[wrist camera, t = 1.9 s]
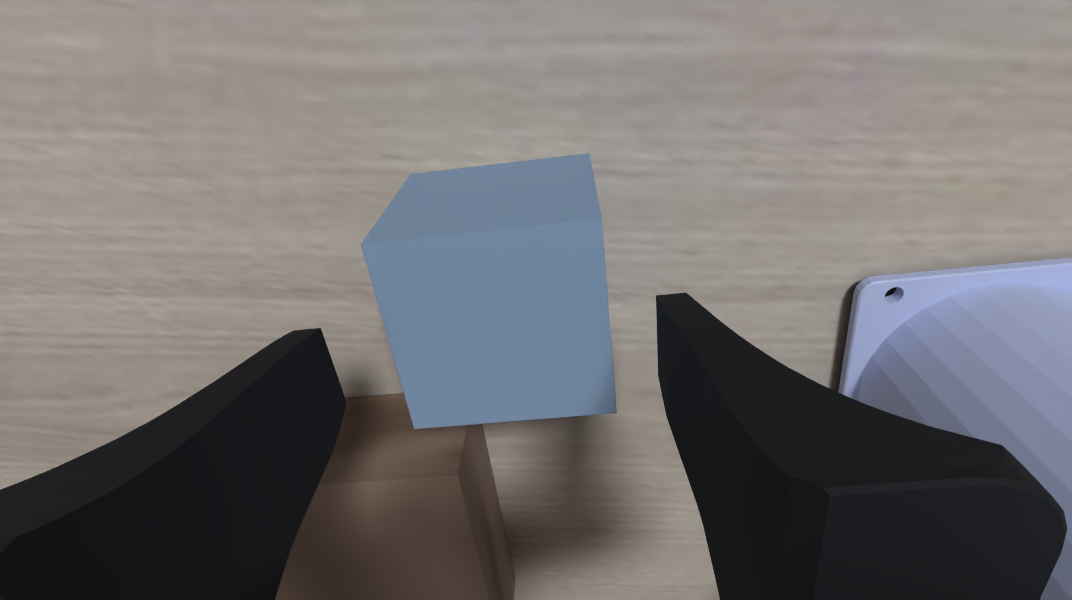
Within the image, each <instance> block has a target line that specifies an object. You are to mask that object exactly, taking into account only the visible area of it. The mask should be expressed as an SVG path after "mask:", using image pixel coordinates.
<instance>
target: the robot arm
mask: <svg viewBox="0 0 1072 600" xmlns="http://www.w3.org/2000/svg"><path fill="white" fill-rule="evenodd" d="M894 287H897V289H896V291H895V292H894V293H893V294H892V295H890V296H885V294H886V292H887V291H888V290H890V289H891V288H894ZM656 308H657V344H658V376H659V381H660V387H661V392H662V397H663V401H664V406H665V411H666V416H667V419H668V422H669V425H670V428H671V430H672V433H673V436H674V439H675V442H676V445H677V448H678V451H679V454H680V457H681V459H682V462H683V465H684V468H685V471H686V474H687V477H688V480H689V482H690V485H691V488H692V491H693V494H694V497H695V500H696V503H697V506H698V509H699V512H700V516H701V519H702V523H703V526H704V531H705V535H706V539H707V544H708V548H709V552H710V556H711V561H712V565H713V569H714V574H715V578H716V583H717V587H718V592H719V596H720V600H1072V258H1062V259H1051V260H1041V261H1030V262H1019V263H1009V264H998V265H987V266H977V267H966V268H955V269H945V270H934V271H924V272H913V273H902V274H892V275H881V276H872V277H868V278H866V279H864V280H862V281H861V282H860V283H859V284H858V285H857V286H856V288H855V290H854V293H853V300H852V306H851V313H850V319H849V326H848V332H847V339H846V345H845V352H844V358H843V365H842V371H841V378H840V384H839V391H838V392H836V391H833V390H831V389H829V388H827V387H825V386H823V385H821V384H819V383H817V382H815V381H813V380H811V379H809V378H807V377H805V376H803V375H801V374H799V373H798V372H796V371H794V370H792V369H790V368H788V367H786V366H785V365H783V364H781V363H780V362H778V361H776V360H775V359H773V358H772V357H770V356H768V355H767V354H765V353H764V352H762V351H761V350H759V349H758V348H756V347H755V346H753V345H752V344H750V343H749V342H747V341H746V340H745V339H743V338H742V337H740V336H739V335H738V334H736V333H735V332H734V331H732V330H731V329H730V328H728V327H727V326H726V325H725V324H723V323H722V322H721V321H719V320H718V319H717V318H716V317H715V316H713V315H712V314H711V313H710V312H709V311H707V310H706V309H705V308H704V307H703V306H701V305H700V304H699V303H698V302H697V301H695V300H694V299H693V298H692V297H691V296H689V295H688V294H687V293H678V294H668V295H658V296H656ZM346 404H347V402H346V399H345V396H344V394H343V391H342V388H341V385H340V382H339V379H338V376H337V374H336V371H335V368H334V365H333V362H332V359H331V356H330V354H329V351H328V348H327V345H326V342H325V339H324V336H323V334H322V331H321V328H316V329H306V330H296V331H292V332H290V333H288V334H286V335H284V336H283V337H281V338H279V339H278V340H276V341H274V342H273V343H271V344H270V345H268V346H267V347H265V348H264V349H262V350H260V351H259V352H257V353H256V354H255V355H253V356H252V357H250V358H249V359H247V360H246V361H244V362H243V363H241V364H240V365H238V366H237V367H235V368H234V369H232V370H231V371H229V372H228V373H226V374H225V375H223V376H222V377H221V378H219V379H218V380H216V381H215V382H213V383H211V384H210V385H208V386H207V387H205V388H204V389H202V390H200V391H199V392H197V393H196V394H194V395H192V396H191V397H189V398H188V399H186V400H185V401H183V402H181V403H180V404H178V405H177V406H175V407H173V408H172V409H170V410H168V411H167V412H165V413H163V414H162V415H160V416H158V417H156V418H155V419H153V420H151V421H149V422H148V423H146V424H144V425H142V426H140V427H138V428H136V429H135V430H133V431H131V432H129V433H127V434H125V435H123V436H121V437H120V438H118V439H116V440H114V441H112V442H110V443H108V444H105V445H103V446H101V447H99V448H97V449H95V450H92V451H90V452H88V453H86V454H84V455H82V456H80V457H77V458H75V459H73V460H71V461H69V462H67V463H64V464H62V465H60V466H58V467H56V468H53V469H51V470H49V471H46V472H44V473H41V474H39V475H37V476H34V477H32V478H29V479H27V480H24V481H22V482H19V483H17V484H14V485H12V486H9V487H6V488H4V489H1V490H0V600H275V598H276V595H277V591H278V588H279V585H280V582H281V579H282V575H283V572H284V569H285V566H286V563H287V559H288V556H289V553H290V550H291V548H292V545H293V543H294V540H295V537H296V535H297V532H298V530H299V528H300V525H301V523H302V521H303V519H304V516H305V514H306V512H307V509H308V507H309V505H310V503H311V500H312V498H313V496H314V494H315V491H316V489H317V487H318V484H319V482H320V480H321V478H322V475H323V473H324V471H325V468H326V466H327V464H328V461H329V459H330V457H331V454H332V452H333V450H334V447H335V445H336V442H337V438H338V435H339V431H340V428H341V424H342V420H343V416H344V412H345V408H346Z"/></svg>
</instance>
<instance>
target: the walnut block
mask: <svg viewBox="0 0 1072 600" xmlns="http://www.w3.org/2000/svg"><path fill="white" fill-rule="evenodd" d="M345 399H346V402H347V404H346V408H345V412H344V416H343V420H342V424H341V428H340V431H339V435H338V438H337V442H336V445H335V447H334V450H333V452H332V454H331V457H330V459H329V461H328V464H327V466H326V468H325V471H324V473H323V475H322V478H321V480H320V482H319V484H318V487H317V489H316V491H315V494H314V496H313V498H312V500H311V503H310V505H309V507H308V509H307V512H306V514H305V516H304V519H303V521H302V523H301V525H300V528H299V530H298V532H297V535H296V537H295V540H294V543H293V545H292V548H291V550H290V553H289V556H288V559H287V563H286V566H285V569H284V572H283V575H282V579H281V582H280V585H279V588H278V591H277V595H276V598H275V600H514V585H515V576H514V571H513V566H512V562H511V557H510V552H509V548H508V543H507V538H506V534H505V529H504V524H503V520H502V515H501V510H500V506H499V501H498V496H497V492H496V487H495V482H494V478H493V473H492V468H491V464H490V459H489V454H488V450H487V445H486V440H485V436H484V431H483V426H482V424H472V425H459V426H446V427H434V428H421V429H414V426H413V423H412V419H411V416H410V413H409V409H408V406H407V402H406V399H405V395H404V393H402V394H390V395H378V396H366V397H354V398H345Z"/></svg>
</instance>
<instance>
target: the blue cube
mask: <svg viewBox="0 0 1072 600" xmlns="http://www.w3.org/2000/svg"><path fill="white" fill-rule="evenodd" d="M361 247H362V250H363V253H364V257H365V260H366V264H367V267H368V271H369V274H370V278H371V281H372V285H373V288H374V292H375V295H376V298H377V302H378V305H379V309H380V312H381V316H382V319H383V323H384V326H385V330H386V333H387V336H388V340H389V343H390V347H391V350H392V354H393V357H394V361H395V364H396V368H397V371H398V374H399V378H400V381H401V385H402V388H403V392H404V395H405V399H406V402H407V406H408V409H409V413H410V416H411V419H412V423H413V426H414V429H421V428H434V427H446V426H459V425H472V424H484V423H497V422H509V421H522V420H534V419H547V418H559V417H572V416H585V415H597V414H610V413H617V412H616V399H615V386H614V373H613V360H612V346H611V333H610V320H609V307H608V294H607V281H606V268H605V255H604V242H603V229H602V217H601V212H600V207H599V202H598V197H597V191H596V186H595V181H594V176H593V171H592V165H591V160H590V155H589V153H588V154H579V155H571V156H562V157H553V158H545V159H536V160H528V161H519V162H511V163H502V164H494V165H485V166H477V167H468V168H460V169H451V170H442V171H434V172H425V173H417V174H411V175H410V176H409V177H408V179H407V180H406V182H405V183H404V185H403V186H402V187H401V189H400V190H399V192H398V193H397V194H396V196H395V197H394V199H393V200H392V202H391V203H390V204H389V206H388V207H387V209H386V210H385V211H384V213H383V214H382V216H381V217H380V218H379V220H378V221H377V223H376V224H375V226H374V227H373V228H372V230H371V231H370V233H369V234H368V235H367V237H366V238H365V240H364V241H363V242H362V244H361Z"/></svg>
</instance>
